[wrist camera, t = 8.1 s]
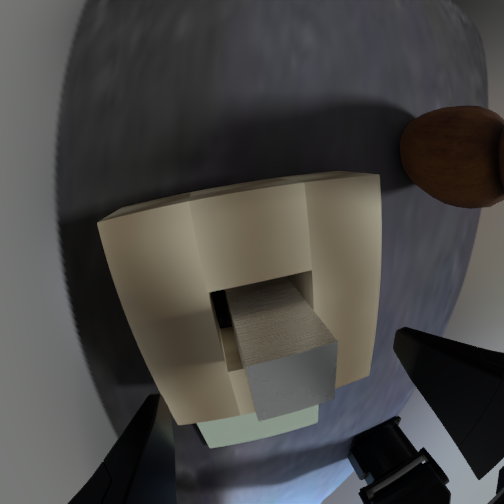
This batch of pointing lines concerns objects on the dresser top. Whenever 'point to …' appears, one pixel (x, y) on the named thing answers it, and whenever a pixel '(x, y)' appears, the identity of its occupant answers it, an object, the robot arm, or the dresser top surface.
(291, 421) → the mat
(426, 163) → the wooden figurine
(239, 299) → the pin
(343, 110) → the dresser top surface
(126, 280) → the hole block
